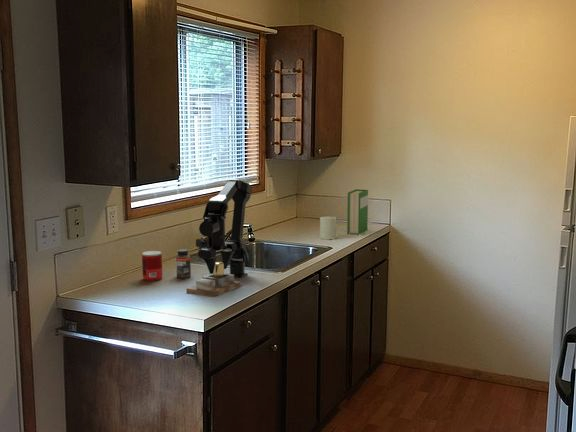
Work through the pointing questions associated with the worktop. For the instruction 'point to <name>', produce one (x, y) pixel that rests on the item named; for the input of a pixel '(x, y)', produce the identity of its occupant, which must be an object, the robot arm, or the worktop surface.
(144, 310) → the worktop surface
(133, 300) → the worktop surface
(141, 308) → the worktop surface
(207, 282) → the jig
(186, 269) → the supplement bottle
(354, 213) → the hardback book
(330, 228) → the can
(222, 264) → the cylinder
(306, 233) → the worktop surface
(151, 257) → the canned food
